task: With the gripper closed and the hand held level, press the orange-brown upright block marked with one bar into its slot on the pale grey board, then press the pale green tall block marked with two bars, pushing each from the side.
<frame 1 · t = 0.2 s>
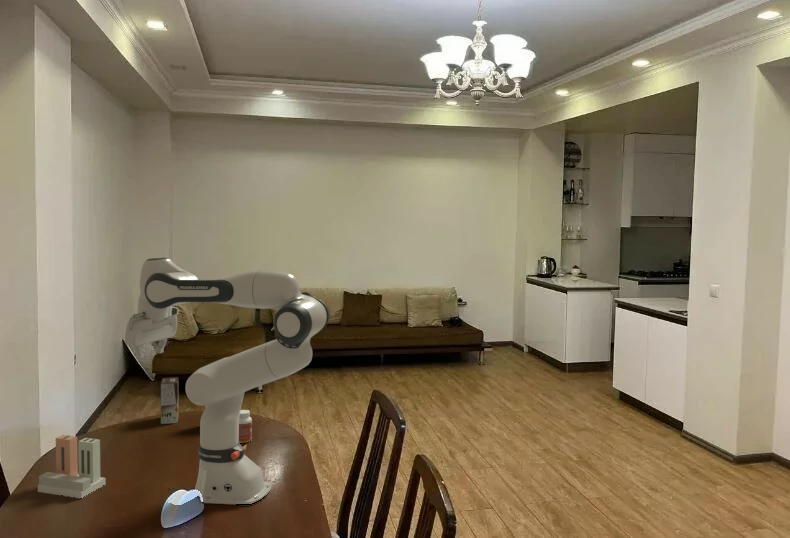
hand: (149, 355, 189), 39 cm above the table, tool pointing down, fingers open, 8 cm apart
pale green tall block 2: (89, 459, 186), point 8 cm above the table, slide at 0.0 cm
orange-brown upright block 1: (66, 456, 188), point 8 cm above the table, slide at 0.0 cm
coffee box: (169, 420, 247), on the table
tile board: (72, 487, 185), on the table
pill bottle: (243, 441, 227), on the table
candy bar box: (220, 426, 242), on the table
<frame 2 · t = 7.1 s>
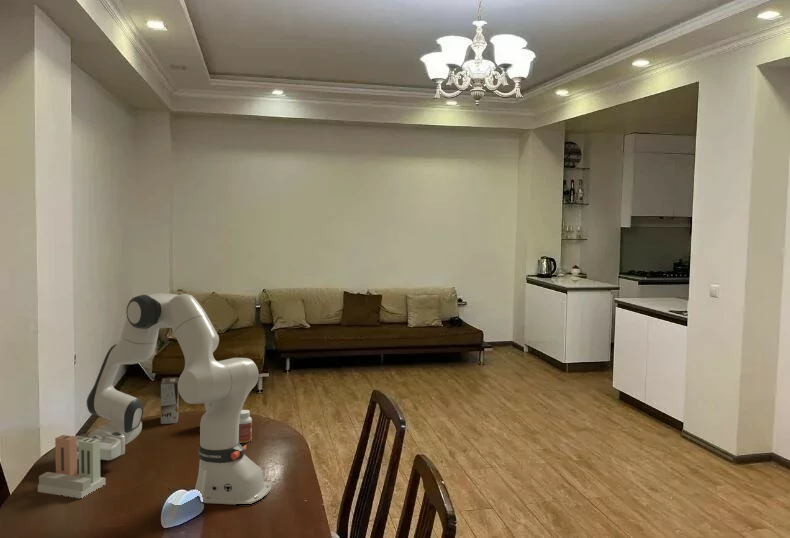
hand: (70, 457, 189), 7 cm above the table, tool horizontal, fingers closed, pressing on orange-brown upright block 1
orange-brown upright block 1: (66, 456, 188), point 8 cm above the table, slide at 0.1 cm, touching gripper
everything else where it was.
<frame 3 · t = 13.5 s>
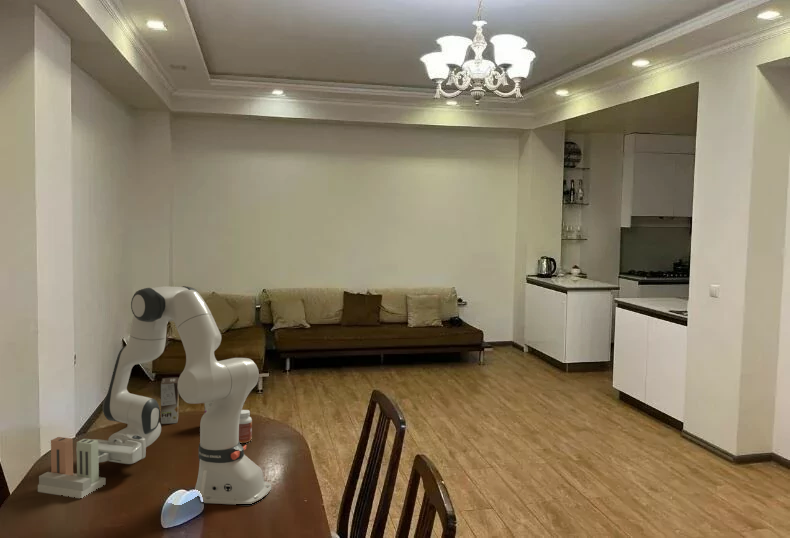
hand: (91, 461, 187), 7 cm above the table, tool horizontal, fingers closed, pressing on pale green tall block 2
pale green tall block 2: (87, 460, 185), point 8 cm above the table, slide at 0.7 cm, touching gripper
orange-brown upright block 1: (61, 459, 186), point 8 cm above the table, slide at 1.8 cm
everything else where it was.
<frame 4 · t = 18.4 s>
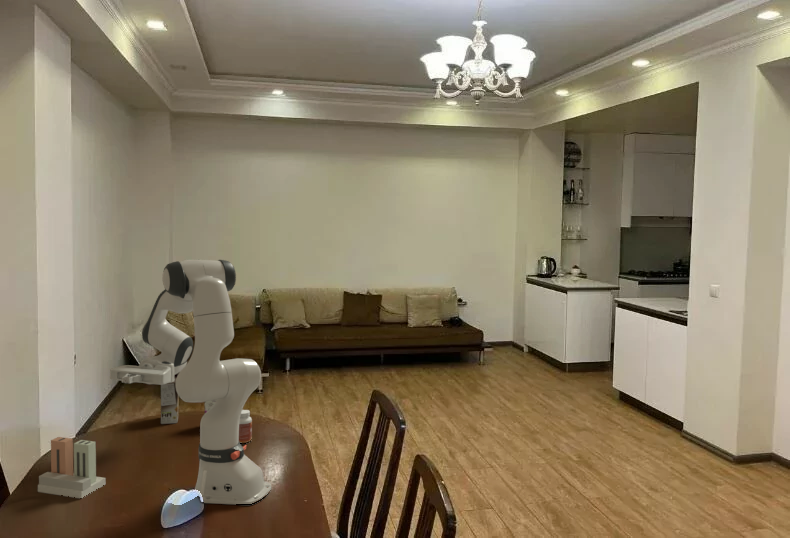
hand: (125, 380, 201), 28 cm above the table, tool horizontal, fingers closed
pale green tall block 2: (84, 462, 184), point 8 cm above the table, slide at 1.8 cm
everything else where it was.
at the end: orange-brown upright block 1 slide at 1.8 cm; pale green tall block 2 slide at 1.8 cm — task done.
